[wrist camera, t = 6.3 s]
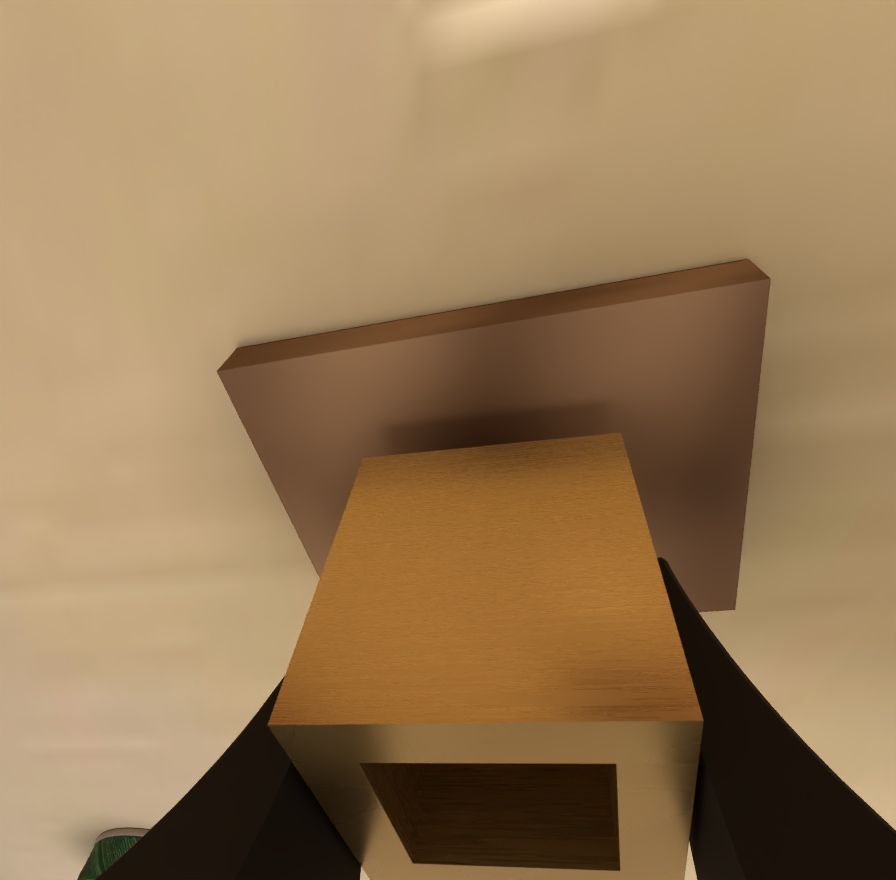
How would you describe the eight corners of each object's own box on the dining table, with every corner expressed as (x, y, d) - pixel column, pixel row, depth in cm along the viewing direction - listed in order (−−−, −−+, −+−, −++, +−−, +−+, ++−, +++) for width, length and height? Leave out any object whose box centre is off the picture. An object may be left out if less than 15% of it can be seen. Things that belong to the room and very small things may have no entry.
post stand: (748, 259, 12) (840, 340, 9) (722, 578, 17) (772, 700, 14) (236, 348, 14) (156, 439, 11) (356, 605, 20) (326, 717, 16)
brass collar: (620, 432, 11) (703, 720, 7) (624, 608, 14) (682, 896, 10) (363, 458, 12) (267, 724, 8) (416, 617, 15) (372, 883, 11)
